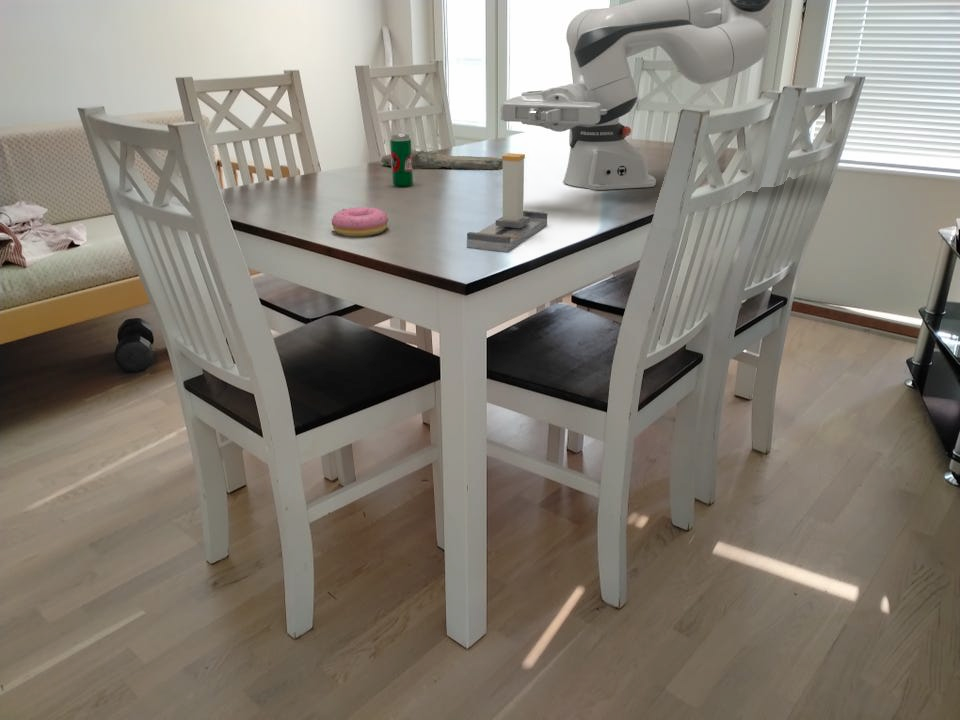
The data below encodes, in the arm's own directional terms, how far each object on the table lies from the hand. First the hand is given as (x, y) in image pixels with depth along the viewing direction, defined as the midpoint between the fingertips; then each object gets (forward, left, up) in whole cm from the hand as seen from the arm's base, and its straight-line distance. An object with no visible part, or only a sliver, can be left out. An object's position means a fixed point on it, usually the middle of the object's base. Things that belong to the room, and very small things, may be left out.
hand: (537, 116), depth 142 cm
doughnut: (+35, +7, -20) cm, 41 cm away
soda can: (+30, -35, -20) cm, 50 cm away
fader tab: (+5, +11, -18) cm, 22 cm away
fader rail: (+6, +13, -20) cm, 24 cm away
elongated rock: (+21, -60, -21) cm, 67 cm away
